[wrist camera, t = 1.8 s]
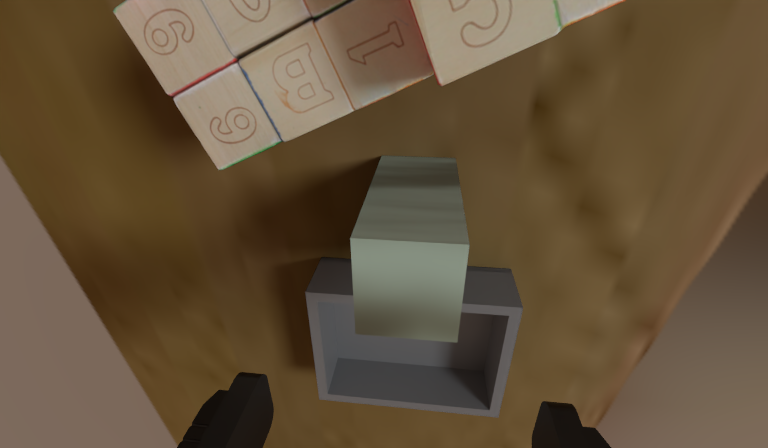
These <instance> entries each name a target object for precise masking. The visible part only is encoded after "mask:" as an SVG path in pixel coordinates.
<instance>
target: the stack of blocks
mask: <svg viewBox="0 0 768 448" xmlns="http://www.w3.org/2000/svg"><path fill="white" fill-rule="evenodd" d="M623 1H625V0H126V1H124V2H123V3H121V4H120V5H119V6H117V7H116V8H114V10H113V12H114V14H115V15H116V17H117V18H118V20H119V21H120V23H121V25H122V26H123V28H124V29H125V31H126V32H127V34H128V35H129V37H130V38H131V40H132V41H133V43H134V44H135V46H136V47H137V49H138V50H139V52H140V53H141V55H142V56H143V58H144V59H145V61H146V62H147V64H148V66H149V67H150V69H151V70H152V72H153V74H154V75H155V77H156V78H157V80H158V81H159V83H160V84H161V86H162V87H163V89H164V90H165V92H166V94H168V95H169V96H171V97H172V98H173V100H174V102H175V104H176V106H177V107H178V109H179V110H180V112H181V114H182V115H183V117H184V118H185V120H186V121H187V123H188V124H189V126H190V127H191V129H192V131H193V132H194V134H195V135H196V137H197V138H198V139H199V141H200V142H201V144H202V146H203V147H204V149H205V150H206V152H207V153H208V155H209V156H210V158H211V159H212V161H213V162H214V164H215V165H216V167H217V168H218V170H223V169H226V168H228V167H230V166H232V165H234V164H236V163H239V162H241V161H243V160H245V159H247V158H249V157H251V156H254V155H256V154H258V153H261V152H263V151H265V150H267V149H269V148H271V147H273V146H275V145H277V144H279V143H280V142H282V141H284V142H287V141H289V140H292V139H294V138H296V137H298V136H301V135H303V134H305V133H307V132H309V131H311V130H314V129H316V128H318V127H320V126H323V125H325V124H327V123H329V122H331V121H334V120H336V119H338V118H340V117H342V116H345V115H347V114H349V113H351V112H353V111H355V110H357V109H360V108H363V107H366V106H368V105H369V104H372V103H374V102H377V101H379V100H381V99H383V98H385V97H388V96H390V95H392V94H394V93H396V92H398V91H400V90H402V89H404V88H406V87H409V86H411V85H413V84H415V83H417V82H419V81H422V80H424V79H426V78H427V77H429V76H431V75H433V74H435V77H436V80H437V82H438V85H440V86H443V85H446V84H448V83H450V82H453V81H455V80H457V79H459V78H461V77H464V76H466V75H468V74H470V73H473V72H475V71H477V70H479V69H482V68H484V67H486V66H488V65H491V64H493V63H495V62H497V61H499V60H502V59H504V58H506V57H508V56H510V55H512V54H515V53H517V52H519V51H521V50H523V49H526V48H528V47H530V46H532V45H535V44H537V43H539V42H542V41H544V40H546V39H548V38H551V37H553V36H555V35H557V34H558V33H559V32H560V31H561V30H562V29H563V28H564V27H566V26H568V25H570V24H573V23H575V22H577V21H580V20H582V19H585V18H587V17H589V16H592V15H594V14H596V13H598V12H601V11H603V10H605V9H607V8H610V7H612V6H614V5H616V4H619V3H621V2H623Z"/></svg>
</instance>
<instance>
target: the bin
mask: <svg viewBox="0 0 768 448" xmlns="http://www.w3.org/2000/svg"><path fill="white" fill-rule="evenodd" d="M305 294H306V302H307V309H308V317H309V324H310V332H311V339H312V347H313V354H314V362H315V370H316V377H317V385H318V392H319V399H321V400H331V401H341V402H351V403H361V404H370V405H380V406H390V407H400V408H410V409H420V410H430V411H439V412H449V413H459V414H469V415H479V416H489V417H498V416H499V412H500V408H501V403H502V399H503V394H504V390H505V385H506V381H507V377H508V372H509V368H510V363H511V359H512V355H513V350H514V346H515V341H516V337H517V332H518V328H519V324H520V319H521V315H522V310H523V306H522V303H521V300H520V297H519V293H518V290H517V287H516V284H515V281H514V277H513V274H512V271H511V269H503V268H487V267H470V266H467V269H466V277H465V285H464V293H463V301H462V309H461V317H460V325H459V333H458V341H457V343H455V342H444V341H432V340H420V339H408V338H396V337H384V336H372V335H360V334H355V317H354V299H353V280H352V262H351V259H341V258H325V257H322V258H321V260H320V262H319V264H318V266H317V268H316V270H315V272H314V275H313V277H312V279H311V281H310V283H309V285H308V287H307V290H306V292H305Z"/></svg>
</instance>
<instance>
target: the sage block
mask: <svg viewBox="0 0 768 448" xmlns="http://www.w3.org/2000/svg"><path fill="white" fill-rule="evenodd" d="M350 244H351V262H352V280H353V299H354V317H355V334H360V335H372V336H384V337H396V338H408V339H420V340H432V341H444V342H455V343H457V341H458V333H459V325H460V317H461V309H462V301H463V293H464V285H465V277H466V269H467V261H468V253H469V239H468V233H467V226H466V220H465V214H464V208H463V201H462V195H461V189H460V183H459V176H458V170H457V164H456V158H438V157H407V156H381V159H380V161H379V164H378V167H377V169H376V172H375V174H374V177H373V180H372V182H371V185H370V188H369V190H368V193H367V195H366V198H365V201H364V203H363V206H362V208H361V211H360V214H359V216H358V219H357V222H356V224H355V227H354V229H353V232H352V235H351V237H350Z"/></svg>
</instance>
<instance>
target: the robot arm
mask: <svg viewBox="0 0 768 448" xmlns="http://www.w3.org/2000/svg"><path fill="white" fill-rule="evenodd" d="M273 412H274V408H273V402H272V397H271V393H270V388H269V384H268V379H267V376H266V375H265V374H255V373H245V372H240V373H239V374H238V375H237V376H236V377H235V379H234V381H233V383H232V385H231V386H230V388H229V390H228V391H225V390H218V391H217V392H216V393H215V394H214V395H213V396H212V397H211V398H210V399H209V400H208V401H206V402H205V403H204V404H203V406H202V407H201V409H200V411H199V412H198V414H197V416H196V417H195V419H194V420H193V422H192V426H191V427H189V429H188V430H187V432H186V434H185V435H184V437H183V441H182V442H180V444H179V445H178V447H177V448H263V445H264V443H265V440H266V438H267V435H268V433H269V430H270V427H271V424H272V420H273ZM532 448H611V447H610V446H609V444H608V443H607V442H606V441H605V440H604V438H603V437H602V436H601V435H600V433H599V432H598V431H597V430H596V429H595V428H590V427H582V424H581V421H580V419H579V416H578V413H577V411H576V409H575V407H574V406H573V405H572V404H568V403H557V402H546V401H543V402H542V403H541V406H540V410H539V413H538V417H537V420H536V423H535V427H534V430H533V434H532Z"/></svg>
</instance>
